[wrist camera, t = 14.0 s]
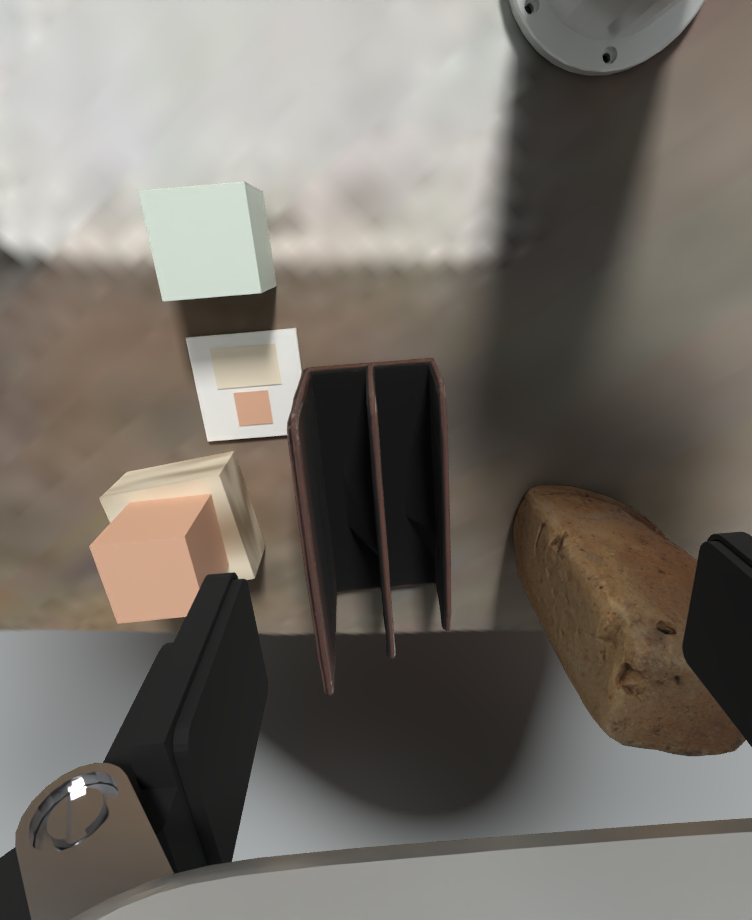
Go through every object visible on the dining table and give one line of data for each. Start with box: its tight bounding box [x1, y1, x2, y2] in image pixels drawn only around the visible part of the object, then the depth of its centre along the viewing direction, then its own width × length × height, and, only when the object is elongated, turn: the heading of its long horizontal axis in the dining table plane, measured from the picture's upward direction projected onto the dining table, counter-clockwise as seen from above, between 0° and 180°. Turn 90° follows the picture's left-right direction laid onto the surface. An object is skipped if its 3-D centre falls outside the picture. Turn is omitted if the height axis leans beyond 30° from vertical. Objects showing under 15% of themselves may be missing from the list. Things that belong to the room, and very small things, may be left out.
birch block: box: [99, 451, 265, 580], centre depth 42 cm, size 9×9×5 cm
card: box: [186, 328, 302, 441], centre depth 40 cm, size 8×8×1 cm
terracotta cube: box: [89, 494, 229, 623], centre depth 36 cm, size 6×6×6 cm
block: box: [513, 485, 746, 756], centre depth 36 cm, size 11×8×20 cm
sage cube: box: [138, 182, 276, 301], centre depth 33 cm, size 6×6×6 cm
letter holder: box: [287, 358, 451, 695], centre depth 37 cm, size 10×20×14 cm, turn 4°
